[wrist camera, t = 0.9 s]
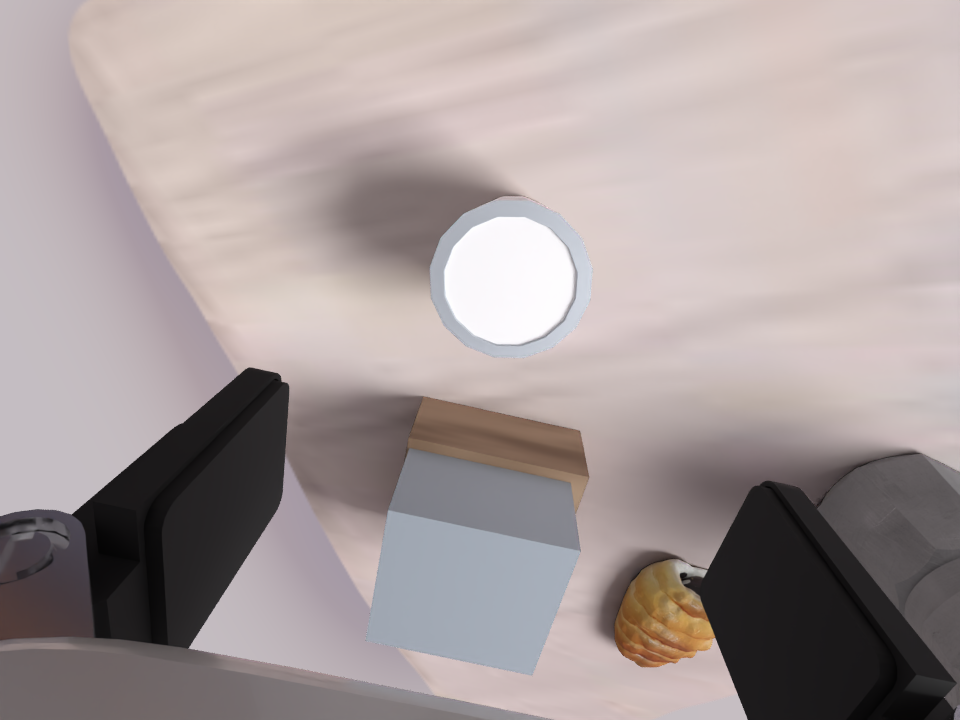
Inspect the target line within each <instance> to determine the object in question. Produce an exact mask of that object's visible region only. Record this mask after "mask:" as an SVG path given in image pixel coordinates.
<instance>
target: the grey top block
mask: <svg viewBox="0 0 960 720" xmlns="http://www.w3.org/2000/svg"><path fill="white" fill-rule="evenodd" d="M580 552H581V550H580V543H579V536H578V529H577V522H576V515H575V508H574V502H573V495H572V488H571V483H569V482H565V481H560V480H555V479H551V478H546V477H542V476H537V475H532V474H528V473H523V472H518V471H514V470H509V469H505V468H500V467H495V466H491V465H486V464H481V463H477V462H472V461H468V460H463V459H458V458H454V457H449V456H444V455H440V454H435V453H431V452H426V451H421V450H417V449H412V448H409V451H408V454H407V457H406V459H405V462H404V465H403V468H402V471H401V474H400V477H399V480H398V483H397V486H396V488H395V491H394V494H393V497H392V500H391V503H390V506H389V509H388V513H387V519H386V525H385V531H384V537H383V542H382V548H381V554H380V560H379V566H378V572H377V577H376V583H375V589H374V595H373V601H372V607H371V612H370V618H369V624H368V631H367V636H366V641H368V642H373V643H377V644H382V645H387V646H392V647H397V648H402V649H406V650H411V651H416V652H421V653H426V654H430V655H435V656H440V657H445V658H450V659H455V660H459V661H464V662H469V663H474V664H479V665H483V666H488V667H493V668H498V669H503V670H508V671H512V672H517V673H522V674H527V675H533V672H534V669H535V667H536V664H537V662H538V659H539V657H540V654H541V652H542V649H543V646H544V644H545V641H546V639H547V636H548V634H549V631H550V629H551V626H552V623H553V621H554V618H555V616H556V613H557V611H558V608H559V606H560V603H561V600H562V598H563V595H564V593H565V590H566V588H567V585H568V583H569V580H570V577H571V575H572V572H573V570H574V567H575V565H576V562H577V559H578V557H579V554H580Z"/></svg>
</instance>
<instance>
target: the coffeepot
mask: <svg viewBox="0 0 960 720" xmlns="http://www.w3.org/2000/svg"><path fill="white" fill-rule="evenodd" d="M817 510H818V511H819V512H820V514H821V515H822V516H823V517H824V519H825V520H826V521H827V522H828V524H829V525H830V526H831V527H832V528H833V530H834V531H835V532H836V533H837V535H838V536H839V537H840V538H841V540H842V541H843V542H844V543H845V545H846V546H847V547H848V548H849V550H850V551H851V552H852V553H853V555H854V556H855V557H856V558H857V560H858V561H859V562H860V563H861V565H862V566H863V567H864V568H865V569H866V571H867V572H868V573H869V574H870V576H871V577H872V578H873V579H874V581H875V582H876V583H877V584H878V586H879V587H880V588H881V589H882V591H883V592H884V593H885V594H886V596H887V597H888V598H889V599H890V601H891V602H892V603H893V604H894V606H895V607H896V608H897V609H898V610H899V612H900V613H901V614H902V615H903V617H904V618H905V619H906V620H907V622H908V623H909V624H910V625H911V627H912V628H913V629H914V630H915V632H916V633H917V634H918V635H919V637H920V638H921V639H922V640H923V642H924V643H925V644H926V645H927V647H928V648H929V649H930V650H931V651H932V653H933V654H934V655H935V656H936V658H937V659H938V660H939V661H940V663H941V664H942V665H943V666H944V668H945V669H946V670H947V671H948V673H949V674H950V675H951V676H952V678H953V679H954V680H955V681H956V683H957V684H956V685H955V686H954V687H953V688H952V690H951V691H950V692H949V693H948V694H947V695H946V696H945V698H946V700H947V702H948V703H949V704H950V706H951V707H952V708H953V709H955V708H956V707H957V706H958V705H960V473H959V472H957V471H955V470H954V469H952V468H950V467H948V466H946V465H945V464H943V463H941V462H938V461H936V460H933V459H931V458H929V457H927V456H925V455H923V454H913V455H903V456H895V457H888V458H883V459H880V460H877V461H873V462H870V463H868V464H866V465H863V466H861V467H858V468H856V469H854V470H853V471H851V472H850V473H848V474H847V475H845V476H844V477H843V478H842V479H841V480H839V481H838V482H837V483H836V484H835V485H834V486H833V487H832V488H831V489H830V491H829V492H828V493H827V494H826V496H825V497H824V499H823V501H822V503H821V505H820V506H819V507H818V508H817Z"/></svg>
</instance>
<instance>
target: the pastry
mask: <svg viewBox="0 0 960 720" xmlns="http://www.w3.org/2000/svg"><path fill="white" fill-rule="evenodd" d="M707 571H708V570H705V569H702V568H697V567H692V566H691V565H689V564H688V563H686V562H683V561H681V560H678V559H670V560H666V561H662V562H656V563H653V564H651V565H649V566H647V567H645V568H644V569H642V570H641V572H640V573H639V575H638V576H637V577H636V578H635V579H634V580H632V581H631V584H630V586H629V588H628V589H627V592H626V594H625V596H624V598H623V601H622V604H621V606H620V609H619V611H618V614H617V617H616V620H615V624H614V629H615V642H616V644H617V647H618V649H619V651H620V652H621V654H622V655H623V656H625V657H626V658H628V659H630V660H632V661H634V662H635V663H636V664H637V665H639V666H640V667H659V666H662V665H665V664H667V663H669V662H672V663H677V662H678V661H679V659H680V658H686V657H688V658H692V657H694V656H695V654H696V652H697V650H699V651H705V650H708V649H710V647H711V645H712V639H713V638H715V635H714V633H713V630H712V628H711V625H710V623H709V620H708V618H707V615H706V613H705V610H704V608H703V605H702V602H701V599H700V586H701V582H702V580H703V578H704V576H705V574H706V573H707Z"/></svg>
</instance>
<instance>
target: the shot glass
mask: <svg viewBox="0 0 960 720" xmlns="http://www.w3.org/2000/svg"><path fill="white" fill-rule="evenodd" d="M592 272H593V268H592V265H591V263H590V260H589V257H588V254H587V251H586V248H585V245H584V242H583V239H582V238H581V237H580V235H579V234H578V233H577V232H576V231H575V230H574V229H573V228H572V227H571V226H570V225H569V224H568V222H567V221H566V220H565V219H564V218H563V217H562V216H561V215H560V214H559V213H557V212H555V211H553V210H552V209H550V208H548V207H546V206H545V205H543V204H540V203H538V202H536V201H534V200H531V199H529V198H527V197H524V196H502V197H499V198H497V199H495V200H492V201H490V202H488V203H485V204H483V205H481V206H479V207H477V208H475V209H472V210H470V211H468V212H466V213H464V214H463V215H462V216H461V217H460V218H459V219H458V220H457V221H456V222H455V223H454V224H453V225H452V226H451V227H450V228H449V229H448V230H447V231H446V233H445V234H444V235H443V236H442V237H441V238H440V241H439V243H438V246H437V249H436V252H435V254H434V257H433V260H432V262H431V265H430V286H431V299H432V301H433V303H434V306H435V308H436V310H437V312H438V314H439V316H440V318H441V320H442V323H443V325H444V326H445V327H446V328H447V329H448V330H449V331H450V332H451V333H452V334H453V335H455V336H456V337H457V338H458V339H459V340H460V341H461V342H462V343H463V344H464V345H465V346H467V347H469V348H472V349H474V350H477V351H479V352H482V353H484V354H487V355H489V356H492V357H502V358H525V357H528V356H531V355H534V354H537V353H539V352H542V351H545V350H548V349H551V348H553V347H554V346H555V345H556V344H558V343H559V342H560V341H561V340H562V339H563V338H565V337H566V336H567V335H568V334H569V333H571V332H572V331H573V330H574V329H575V328H576V327H577V325H578V323H579V321H580V319H581V317H582V315H583V313H584V311H585V309H586V308H587V306H588V304H589V302H590V296H591V284H592Z"/></svg>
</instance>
